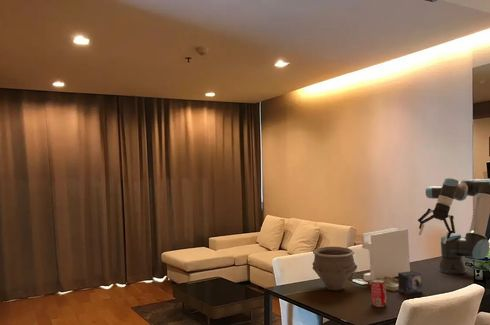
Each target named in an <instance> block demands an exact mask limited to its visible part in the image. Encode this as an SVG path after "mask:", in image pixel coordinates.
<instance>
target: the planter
mask: <svg viewBox="0 0 490 325" xmlns="http://www.w3.org/2000/svg"><path fill="white" fill-rule="evenodd" d="M312 253H313V255H314V259H313V262H312V264H311V265H312V270H313V271H314V272H315V274H316V275H317V276H318V277H319V279H320V280H321V281H322V283H323V284H324V286H325V287H326V289H327V290H329V291H341V290H343V289H344V287H345V285H346V284H347V282H348V280H349V279H350V277H351V276H352V275H353V274H354V273H355V271H356V270H357V268H358V265H357V264H356V263H355V259H354V254H355V252H354V250H352V249H350V248H347V247H344V246H343V247H342V246H324V247H318V248H316V249H314V250H313V251H312Z"/></svg>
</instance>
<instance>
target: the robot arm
mask: <svg viewBox="0 0 490 325" xmlns="http://www.w3.org/2000/svg"><path fill="white" fill-rule="evenodd" d="M425 196H426V198H428V199H432V200H434V199H435V200H436V199H437V201H436V203H435V207H434V208H433V209H432V208H427V211H425V213H423V214H422V215H421V216H420V218H418V219H417V221H418V222H419V223H420V224H419V227H418V229H419V232H418V235H420V236H422V233H423V230H424V227H425V223H427V222H429V221H431V220H434V219H436V220H439V221H443V223H444V225H445V227H446V229H447V232H446V233H445V234H444V235H441V237H440V251H441V258H440V263H439V267H438V268H439V269H438V271H439V272H440V273H441V272H442V273H444V274H451V275H461V274H466V272H467V269H466V266H465V263H464V261H463V258H464V257H465V258H470V259H471V258H472V259H476V260H477V259H480V260H481V259H485V258H486V257H487V256H488V255H489V252H490V242H489V240H488V238H487V236H486V231H487V227H488V222H489V218H490V178H469V179H464V180H458V179H455V178H452V177H445V178H444V180H443V182H442V185H436V186H435V185H434V186H433V185H432V186H431V185H430V186H427V187H426V188H425ZM468 197H474V198H475V199H476V200H475V205H474V209H473V215H472V218H471V223H470V227H469V231H468V232H466V233H465V236H464V237H462V235H461V234H456V228H455V223H454V218H455V217H454V215H451V214H449V213H450V210H451V206H452V205H453V204H452V203H453V201H454V200H456V201H459V202H461V201H465V200H466V199H467V198H468ZM431 213H432V215H430V214H431ZM428 215H430V216H429V217H428ZM447 218H448V219H449V222H450V225H449V223H448V221H447ZM450 226H451V227H450Z"/></svg>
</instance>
